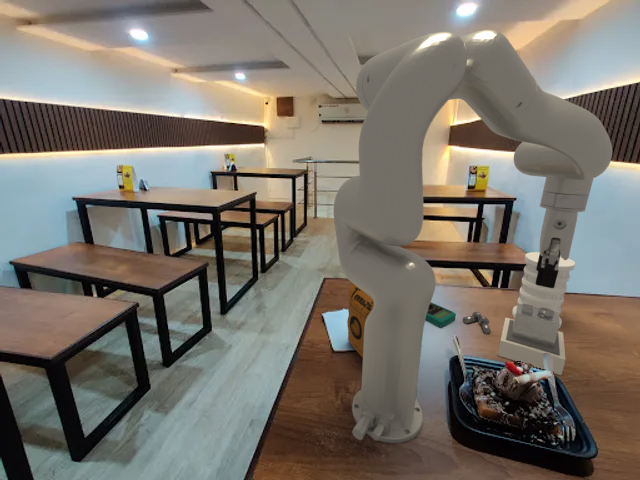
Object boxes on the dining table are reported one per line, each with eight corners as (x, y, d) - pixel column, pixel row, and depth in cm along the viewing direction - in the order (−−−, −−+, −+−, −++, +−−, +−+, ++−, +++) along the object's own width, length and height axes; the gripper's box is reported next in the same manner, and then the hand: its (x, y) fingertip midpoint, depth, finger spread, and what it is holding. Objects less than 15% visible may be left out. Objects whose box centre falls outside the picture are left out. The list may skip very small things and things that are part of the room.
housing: (511, 335, 74) (517, 309, 72) (513, 324, 78) (518, 299, 76) (553, 347, 69) (560, 319, 67) (552, 335, 74) (559, 308, 72)
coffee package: (363, 372, 68) (368, 279, 62) (342, 340, 79) (344, 258, 73) (404, 363, 71) (412, 273, 64) (378, 333, 82) (383, 253, 76)
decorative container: (571, 326, 85) (588, 264, 80) (538, 333, 82) (553, 269, 77) (533, 306, 96) (545, 249, 90) (502, 311, 93) (513, 253, 87)
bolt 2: (491, 334, 82) (493, 326, 81) (481, 333, 82) (483, 325, 81) (487, 324, 86) (489, 317, 85) (477, 323, 86) (479, 315, 86)
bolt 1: (467, 325, 86) (469, 317, 85) (461, 320, 88) (462, 313, 87) (480, 321, 87) (482, 314, 87) (474, 317, 89) (475, 310, 89)
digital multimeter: (412, 300, 100) (413, 292, 99) (456, 321, 88) (457, 311, 88) (397, 307, 96) (397, 299, 95) (440, 330, 84) (441, 320, 83)
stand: (561, 375, 67) (565, 358, 66) (497, 355, 74) (500, 339, 72) (559, 346, 77) (563, 331, 75) (502, 330, 83) (505, 316, 82)
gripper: (592, 210, 56) (568, 298, 60) (582, 198, 69) (563, 270, 74) (541, 204, 60) (522, 287, 64) (541, 194, 73) (525, 263, 78)
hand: (544, 278), depth 69 cm, fingers open, 9 cm apart
